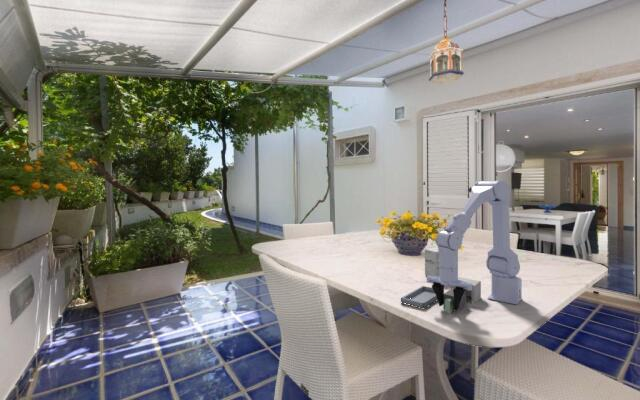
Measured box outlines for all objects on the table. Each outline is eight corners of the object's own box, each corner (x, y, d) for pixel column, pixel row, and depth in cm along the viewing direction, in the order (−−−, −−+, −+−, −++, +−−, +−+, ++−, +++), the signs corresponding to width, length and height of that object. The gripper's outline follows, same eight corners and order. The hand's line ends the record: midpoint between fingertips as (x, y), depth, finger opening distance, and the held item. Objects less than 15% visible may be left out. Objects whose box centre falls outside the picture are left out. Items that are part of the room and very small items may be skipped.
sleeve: (474, 303, 118) (474, 285, 117) (450, 298, 123) (450, 281, 123) (480, 297, 123) (480, 281, 122) (457, 293, 128) (457, 277, 128)
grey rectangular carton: (454, 313, 109) (454, 299, 108) (440, 310, 112) (440, 295, 111) (465, 304, 116) (465, 290, 116) (452, 301, 119) (452, 288, 119)
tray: (444, 295, 126) (444, 290, 126) (423, 309, 113) (423, 303, 113) (422, 290, 132) (422, 285, 132) (400, 303, 119) (400, 297, 119)
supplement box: (424, 275, 153) (424, 248, 152) (437, 273, 155) (437, 247, 154) (435, 280, 146) (435, 251, 145) (448, 278, 148) (448, 250, 148)
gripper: (422, 266, 112) (422, 305, 113) (467, 273, 102) (467, 316, 103) (431, 262, 117) (431, 299, 118) (474, 268, 108) (474, 309, 108)
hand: (448, 307), depth 111 cm, fingers closed on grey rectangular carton, 5 cm apart
